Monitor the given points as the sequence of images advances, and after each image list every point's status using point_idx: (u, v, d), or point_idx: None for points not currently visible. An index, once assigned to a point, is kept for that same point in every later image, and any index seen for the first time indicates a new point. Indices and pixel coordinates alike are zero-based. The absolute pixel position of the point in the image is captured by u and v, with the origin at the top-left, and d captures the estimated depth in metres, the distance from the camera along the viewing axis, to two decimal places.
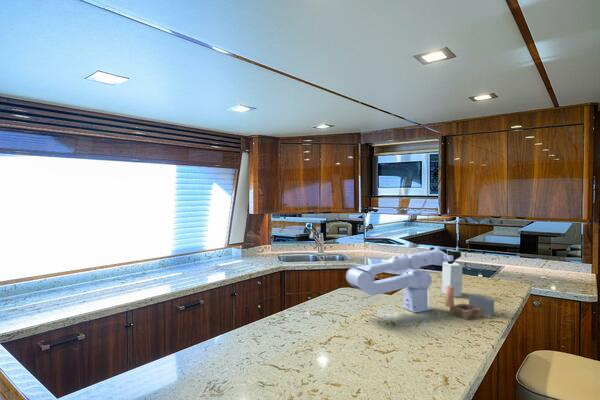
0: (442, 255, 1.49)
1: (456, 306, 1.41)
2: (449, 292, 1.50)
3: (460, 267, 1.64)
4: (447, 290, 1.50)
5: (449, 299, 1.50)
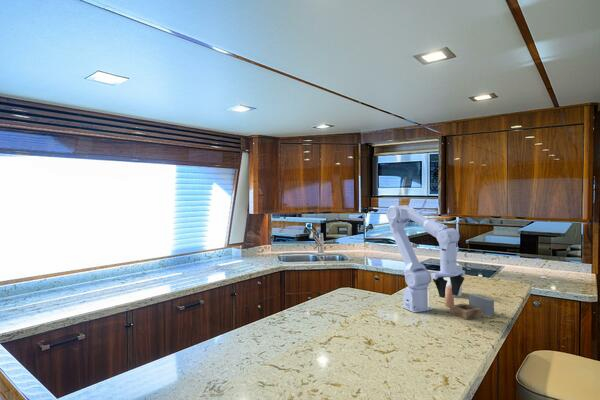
0: (443, 273, 1.34)
1: (456, 306, 1.41)
2: (449, 292, 1.50)
3: (460, 267, 1.64)
4: (447, 290, 1.50)
5: (449, 299, 1.50)
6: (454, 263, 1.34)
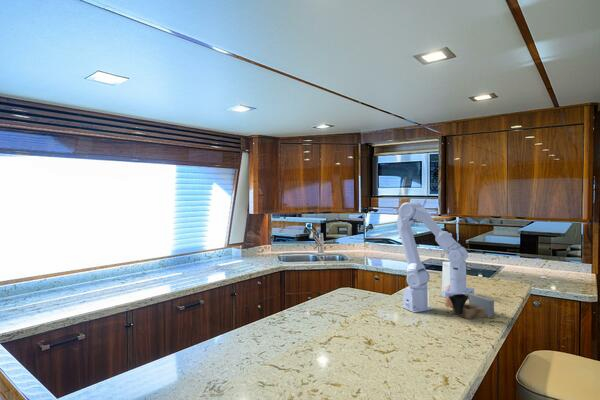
0: (453, 292, 1.36)
1: None
2: None
3: None
4: None
5: (449, 299, 1.50)
6: (464, 281, 1.35)
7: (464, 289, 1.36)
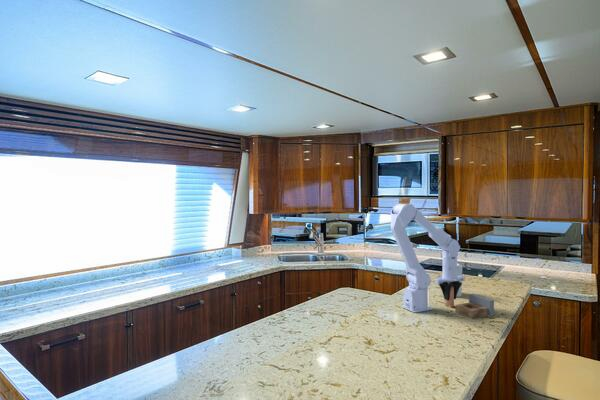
0: None
1: (462, 305, 1.42)
2: None
3: (460, 267, 1.64)
4: None
5: (449, 299, 1.50)
6: (455, 269, 1.48)
7: (455, 276, 1.48)
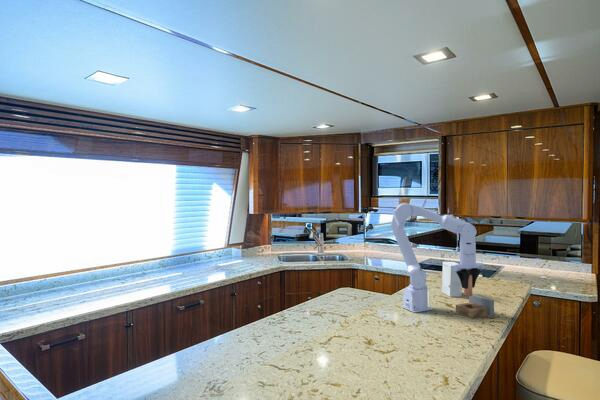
0: None
1: (462, 305, 1.42)
2: None
3: None
4: None
5: (468, 287, 1.41)
6: (474, 256, 1.39)
7: (474, 263, 1.40)
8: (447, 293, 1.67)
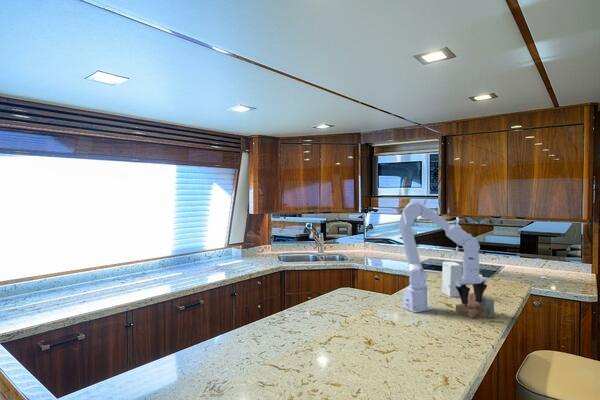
0: None
1: (462, 305, 1.42)
2: (470, 299, 1.39)
3: (460, 267, 1.64)
4: (468, 297, 1.40)
5: (471, 306, 1.39)
6: (477, 271, 1.38)
7: (477, 278, 1.38)
8: (447, 293, 1.67)
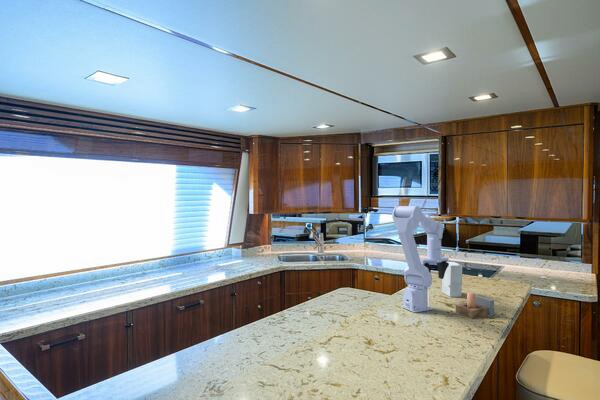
0: (430, 260, 1.57)
1: (462, 305, 1.42)
2: (470, 299, 1.39)
3: (460, 267, 1.64)
4: (468, 297, 1.40)
5: (471, 306, 1.39)
6: (439, 251, 1.56)
7: (439, 257, 1.57)
8: (447, 293, 1.67)
